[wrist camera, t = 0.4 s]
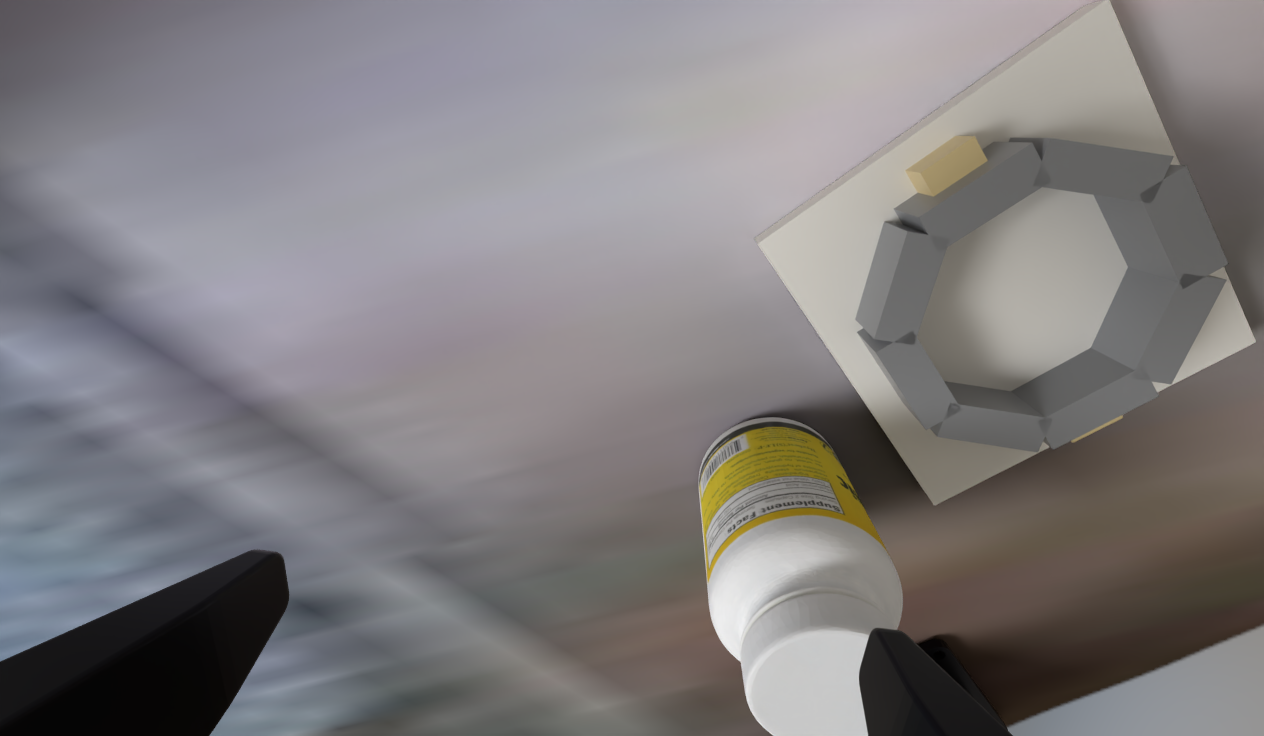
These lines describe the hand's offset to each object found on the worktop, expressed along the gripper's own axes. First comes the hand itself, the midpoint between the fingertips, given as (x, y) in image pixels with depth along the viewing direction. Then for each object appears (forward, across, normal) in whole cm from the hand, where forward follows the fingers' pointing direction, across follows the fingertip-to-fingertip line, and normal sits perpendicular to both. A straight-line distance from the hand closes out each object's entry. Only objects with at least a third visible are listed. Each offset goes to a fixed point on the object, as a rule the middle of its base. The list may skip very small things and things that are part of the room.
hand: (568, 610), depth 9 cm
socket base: (+13, -12, -3) cm, 18 cm away
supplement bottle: (+14, -6, +5) cm, 16 cm away
